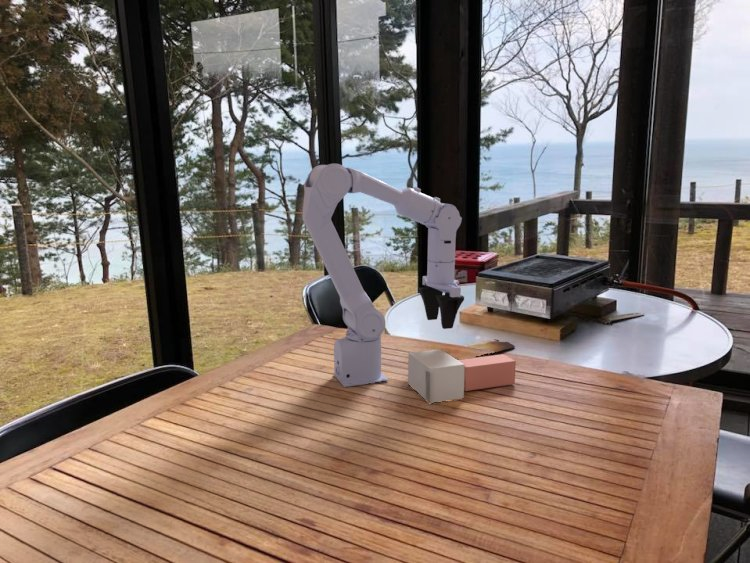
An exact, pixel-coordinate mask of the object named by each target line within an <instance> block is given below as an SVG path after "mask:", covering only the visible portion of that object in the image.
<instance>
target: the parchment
mask: <svg viewBox="0 0 750 563" xmlns="http://www.w3.org/2000/svg"><path fill="white" fill-rule="evenodd" d="M463 346H465V347H471V348H476V349H484V350H490V351H494V352H496V353H498V352H502V351H505V350H509V349H512V348H515V347H516V346H515V345H514V344H513V343H510V341H509V342H508V341H500V340H498V339H493V340H485V341H479V342H474V343H469V344H465V345H463Z"/></svg>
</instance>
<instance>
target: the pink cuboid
mask: <svg viewBox="0 0 750 563" xmlns="http://www.w3.org/2000/svg"><path fill="white" fill-rule="evenodd" d="M458 361H460V362H462V363H463V364H465V365H464V392H468V391H474V390H475V391H476V390H482V389H489V388H496V387H502V386H511V385H515V383H516V363H517V362H516V360H514V359H513V358H511V357H509V356H507V355H506V354H503V353H502V354H493V355H484V356H479V357H476V358H469V359H461V360H458Z"/></svg>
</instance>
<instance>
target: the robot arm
mask: <svg viewBox="0 0 750 563" xmlns="http://www.w3.org/2000/svg"><path fill="white" fill-rule="evenodd" d="M303 188H304V193H303V194H304V195H303V204H302V213H301V214H302V220H303V223H304V225H305V227H306V230H307V231H308V234H309V236H310V237H311V240H312V242H313V245H314V246H315V248H316V250H317V252H318V254H319V257H320V258H321V261H322V263H323V265H324V267H325V269H326V271H327V273H328V276H329V277H330V280H331V281H332V283H333V285H334V287H335V290H336V292H337V295H338V296H339V304H340V306H341V308H342V320H343V322H344V324H345V325H346V326H347V330H346V332H345V336H344V337H342V338H338V339H335V340H334V345H333V363H334V369H333V370H334V371H333V375H334V377H335V378H336V379H337V380H338V382H339V383H340V384H341V386H343V387H344V388H346V387H354V386H355V387H356V386H362V385H369V384H368V383H371V384H376V383H375V382H379V383H382V382H381V381H386V382H388V381H389V378H388V377H387V376H386V375H385V374H384V373H382V334H383V332H384V331H385V327H386V318H385V316H384V315H383V313H382V312H381V311H380V310H378V309H377V308H376V307H375V305H374V304H373V302H372V300H371V298H370V297H369V296H368V294H367V292H366V291H365V290H364V288H363V286H362V283H361V282H360V280H359V277H358V275H357V273H356V271H355V268H354V266H353V265H352V261H351V260H350V258H349V255H348V253H347V250H346V248H345V247H344V244H343V243H342V240H341V238H340V236H339V233H338V232H337V230H336V227H335V226H334V223H333V221H332V217H333V214H334V213H335V210H336V208H337V206H338V205H339V204H338V203H340V202H341V200H342V199H343V198H345V196H346V195H347V194H356V193H357V194H359V193H361V194H364V195H367V196H370V197H372V198H375V199H377V200H380V201H382V202H384V203H388V204H390V205H393V207H394V208H395V210H396V211H395V212H396V213H397V214H398V215H400V216H402V217H404V218H406V219H409V220H411V221H413V222H417V223H418V224H419V223H420V224H421V225H423V226H425V227H426V228H428V229H427V265H426V266H427V271H426V275H423V276H422V286H423V287H418V289H417V291H418V293H419V294H420V297H421V299H422V302H423V306H424V309H425V315H426V319H427V320H428V321H434V320H436V321H437V320H438V318H439V312H440V323H441V327H442V329H443V330H447V329H453V327H454V325H455V321H456V318H457V315H458V312H459V309H460V307H461V305H462V304H463V302H464V301H465V296H464V295H462V294H461V292H462V291H461V290H462V287H461V286H458V285H460V281H459V280H457V279H455V272H456V271H455V268H456V267H455V265H456V238H457V231H458V229H459V227H460V226H461V224H462V219H463V217H462V216H461V215H460V211H459V210H458V209H457V207H456V206H455V205H454V204H451V203H443V202H441V198H439V197H437V196H434V197H432V196H430V195H427V194H425V193H422V192H421V191H422V189H421V188H419V187H417V186H413V187H412V188H411V187H406V188H404V189H402V190H400V189H398V188H396V187H394V186H392V185H389V183H386V182H384V181H381V180H380V179H377V178H375V177H373V176H371V175H369V174H367V173H365V172H363V171H360V170H358V169H354V168H352V167H346V166H344V165H342V164H339V163H329V164H320V165H317V166H315V167H313V168H312V169H311V170H310V172H309V174H308V176H307V178H306V180H305V182H304V183H303ZM387 380H388V381H387Z"/></svg>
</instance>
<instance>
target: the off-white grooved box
mask: <svg viewBox="0 0 750 563" xmlns="http://www.w3.org/2000/svg"><path fill="white" fill-rule="evenodd" d="M446 352H447V351H445V350H443V349H441V348H438V349H429V350H421V351H420V350H419V351H412V352H411V351H410V352H408V353H407V354H408V360H407V362H408V364H407V366H408V367H407V369H408V372H407V375H408V376H407V380H408V381H407V385H408V384H409V385H411V386H412V387H413V388H414V389H415V390H416V391H417V392H418V393H419V394H420V395H421V396H422V397H423V398H424V399H425V400H427V401H428V402H429V403H433V402H439V401H446V400H452V399H460V398H464V397H465V390H464V365H465V364H463V363H462V362H460V361H458V360H457V359H455V358H454V357H452V356H451V355H449V354H447V353H446ZM419 394H418V395H419ZM420 395H419V396H420ZM421 396H420V397H421ZM422 397H421V398H422ZM423 398H422V399H423ZM424 399H423V400H424ZM425 400H424V401H425ZM428 402H427V403H428ZM429 403H428V404H429Z"/></svg>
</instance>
